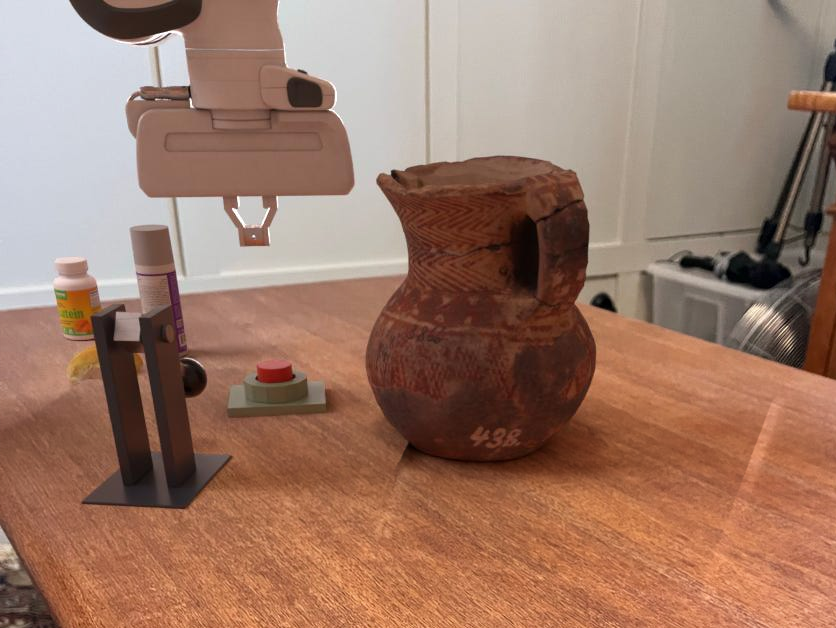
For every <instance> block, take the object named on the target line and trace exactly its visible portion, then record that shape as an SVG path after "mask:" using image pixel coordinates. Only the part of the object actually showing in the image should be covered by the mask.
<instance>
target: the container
mask: <svg viewBox="0 0 836 628" xmlns="http://www.w3.org/2000/svg"><path fill="white" fill-rule="evenodd" d="M129 234H130V240H131V247H132V255H133V263H134V269H135V276H136V281H137V286H138V293H139V300H140V305H141V312H142V313H143V314H145V313H147V312H149V311H150V310H152V309H154V308H155V307H157V306H159V305H171V308H172V314H173V321H174V327H175V333H176V340H177V346H178V353H179V358H183V357H185V356H187V355H188V353H189V351H188V350H189V349H188V344H187V343H188V342H187V336H186V328H185V324H184V323H185V322H184V315H183V310H182V302H181V296H180V290H179V282H178V275H177V270H176V264H175V259H174V252H173V246H172V242H171V241H172V240H171V235H170V234H171V233H170V228H169V226H168V225H166V224H141V225H135V226H131V227H129Z"/></svg>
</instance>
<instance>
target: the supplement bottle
mask: <svg viewBox="0 0 836 628" xmlns="http://www.w3.org/2000/svg"><path fill="white" fill-rule="evenodd" d="M53 263H54V264H53V265H54V269H55V272H56V273H57V274H58V276H57V277H56V278H54V280H53V282H52V283H53V284H52V285H53V292H54V295H55V300H56V301H55V302H56V305H57V310H58V315H59V319H60V325H61V329H62V334H63V337H64V338H65V339H67V340H71V341H89V340H95V339H94V334H93V329H92V324H91V318H90V316H92V315H93V314H95V313H97V312H99V311H101V310H103V309H102V304H101V298H100V292H99V288H98V282H97V279H96V278H95V277H94V276H92V274H88V271H89V264H88V260H87V258H85V257H83V256H67V257H60V258H55V260H54V261H53Z"/></svg>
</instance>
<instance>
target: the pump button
mask: <svg viewBox="0 0 836 628" xmlns="http://www.w3.org/2000/svg"><path fill="white" fill-rule="evenodd" d="M292 369H293V363H292V362H291V361H289V360H286V359H268V360H263V361H260V362H258V363H257V364H256V371H257V374H258V381H259V382H262V383H282V382H287V381H291V380H292V379H293V373H292Z"/></svg>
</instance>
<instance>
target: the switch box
mask: <svg viewBox="0 0 836 628" xmlns="http://www.w3.org/2000/svg"><path fill="white" fill-rule="evenodd" d="M292 373H293V379H292V380H291V381H287V382H282V383H262V382H259V381H258V374H257V370H256V371H255V370H254V371H252V372H250V373H248V374H246V375H244V376H243V384H230V389H229V393H228V394H229V395H228V400H227V405H226V406H227V407H226V412H227V418H240V417H243V418H244V417H262V416H279V415H280V416H281V415H282V416H283V415H297V414H298V415H300V414H301V415H303V414H318V413H319V414H320V413H321V414H322V413H327V412H328V410H327V399H326V389H325V387H326V386H325V381H324V380H309V381H308V374H307V372H304V371H302V370H300V369H294V368H292Z"/></svg>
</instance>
